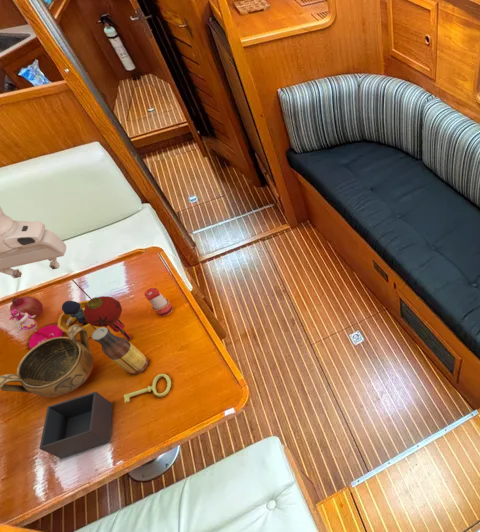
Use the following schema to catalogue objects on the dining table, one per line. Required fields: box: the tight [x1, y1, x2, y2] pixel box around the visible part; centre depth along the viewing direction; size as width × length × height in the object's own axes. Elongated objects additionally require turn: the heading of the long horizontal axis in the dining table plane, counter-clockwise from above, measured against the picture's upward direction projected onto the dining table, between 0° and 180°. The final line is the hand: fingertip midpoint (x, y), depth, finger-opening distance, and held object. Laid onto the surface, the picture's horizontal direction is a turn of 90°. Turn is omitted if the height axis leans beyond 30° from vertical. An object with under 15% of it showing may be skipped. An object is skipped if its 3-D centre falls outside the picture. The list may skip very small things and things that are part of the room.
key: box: [123, 373, 172, 404], centre depth 115 cm, size 7×12×2 cm, turn 133°
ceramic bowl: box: [0, 323, 95, 398], centre depth 114 cm, size 22×17×15 cm
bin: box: [38, 391, 114, 460], centre depth 106 cm, size 12×12×8 cm
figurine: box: [8, 309, 64, 350], centre depth 123 cm, size 10×10×15 cm
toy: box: [144, 287, 174, 317], centre depth 130 cm, size 5×8×15 cm
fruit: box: [9, 295, 44, 320], centre depth 130 cm, size 8×8×10 cm
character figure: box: [61, 300, 88, 327], centre depth 128 cm, size 9×4×12 cm, turn 147°
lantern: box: [71, 279, 132, 341], centre depth 117 cm, size 10×10×30 cm
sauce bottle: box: [91, 326, 149, 375], centre depth 114 cm, size 7×6×20 cm
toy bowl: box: [56, 300, 106, 341], centre depth 130 cm, size 12×13×5 cm
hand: (37, 271), depth 113 cm, fingers open, 8 cm apart
